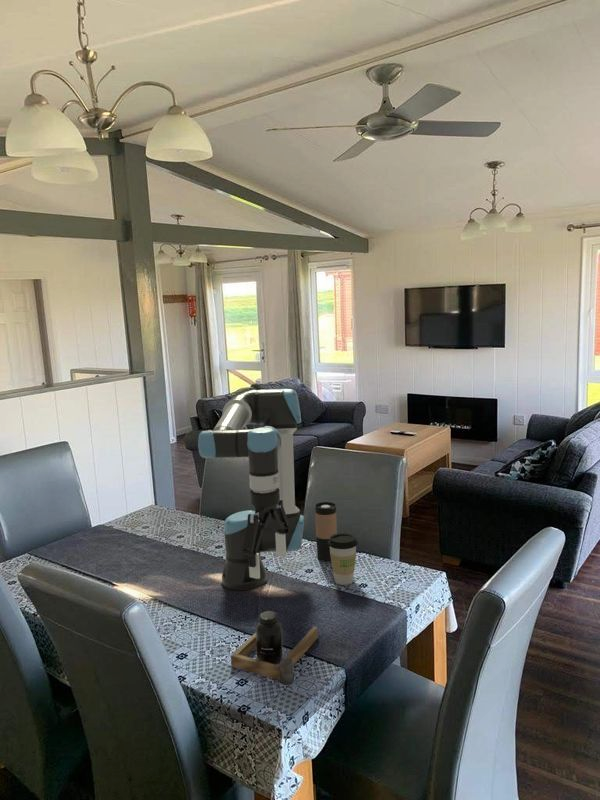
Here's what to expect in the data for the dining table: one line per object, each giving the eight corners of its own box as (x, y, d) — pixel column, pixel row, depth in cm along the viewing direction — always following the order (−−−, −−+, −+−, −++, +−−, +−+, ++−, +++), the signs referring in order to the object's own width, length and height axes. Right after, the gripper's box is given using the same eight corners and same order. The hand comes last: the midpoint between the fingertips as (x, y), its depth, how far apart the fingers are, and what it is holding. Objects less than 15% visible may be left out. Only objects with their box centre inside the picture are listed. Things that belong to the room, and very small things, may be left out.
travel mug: (315, 554, 218) (313, 502, 215) (336, 552, 219) (334, 501, 216) (318, 562, 210) (316, 509, 208) (339, 561, 211) (337, 507, 208)
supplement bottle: (263, 668, 148) (261, 624, 146) (252, 655, 154) (250, 612, 152) (287, 660, 151) (285, 617, 149) (276, 647, 157) (274, 606, 155)
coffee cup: (356, 588, 190) (355, 544, 188) (327, 586, 192) (325, 542, 190) (360, 575, 199) (359, 532, 197) (331, 573, 201) (330, 531, 199)
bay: (229, 668, 149) (228, 650, 148) (272, 626, 168) (272, 610, 167) (289, 685, 141) (288, 666, 140) (327, 639, 160) (327, 622, 159)
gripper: (251, 505, 137) (255, 590, 141) (300, 476, 159) (303, 550, 163) (224, 502, 141) (229, 584, 144) (276, 474, 163) (279, 546, 166)
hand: (268, 566), depth 153 cm, fingers open, 13 cm apart
